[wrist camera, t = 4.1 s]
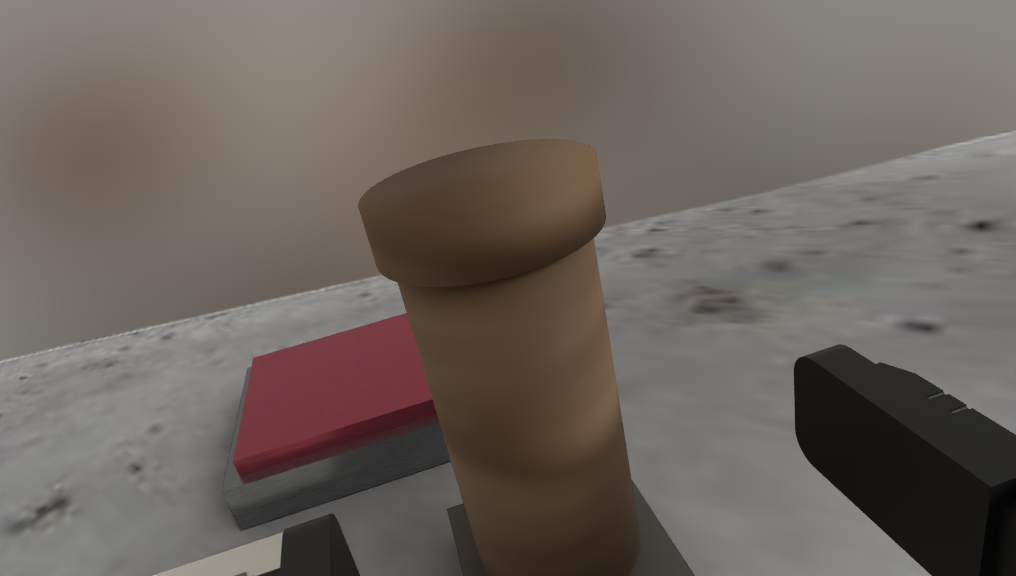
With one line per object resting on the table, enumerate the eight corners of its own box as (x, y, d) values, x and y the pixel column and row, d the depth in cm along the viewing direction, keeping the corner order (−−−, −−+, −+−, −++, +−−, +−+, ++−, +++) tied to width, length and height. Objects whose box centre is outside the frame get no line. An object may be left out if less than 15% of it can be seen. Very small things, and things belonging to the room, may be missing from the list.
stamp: (618, 484, 20) (558, 123, 15) (704, 621, 16) (655, 169, 11) (456, 540, 19) (343, 179, 15) (497, 701, 15) (353, 253, 10)
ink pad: (442, 344, 30) (430, 301, 29) (480, 450, 23) (466, 397, 22) (260, 400, 29) (242, 355, 28) (240, 530, 21) (214, 477, 20)
